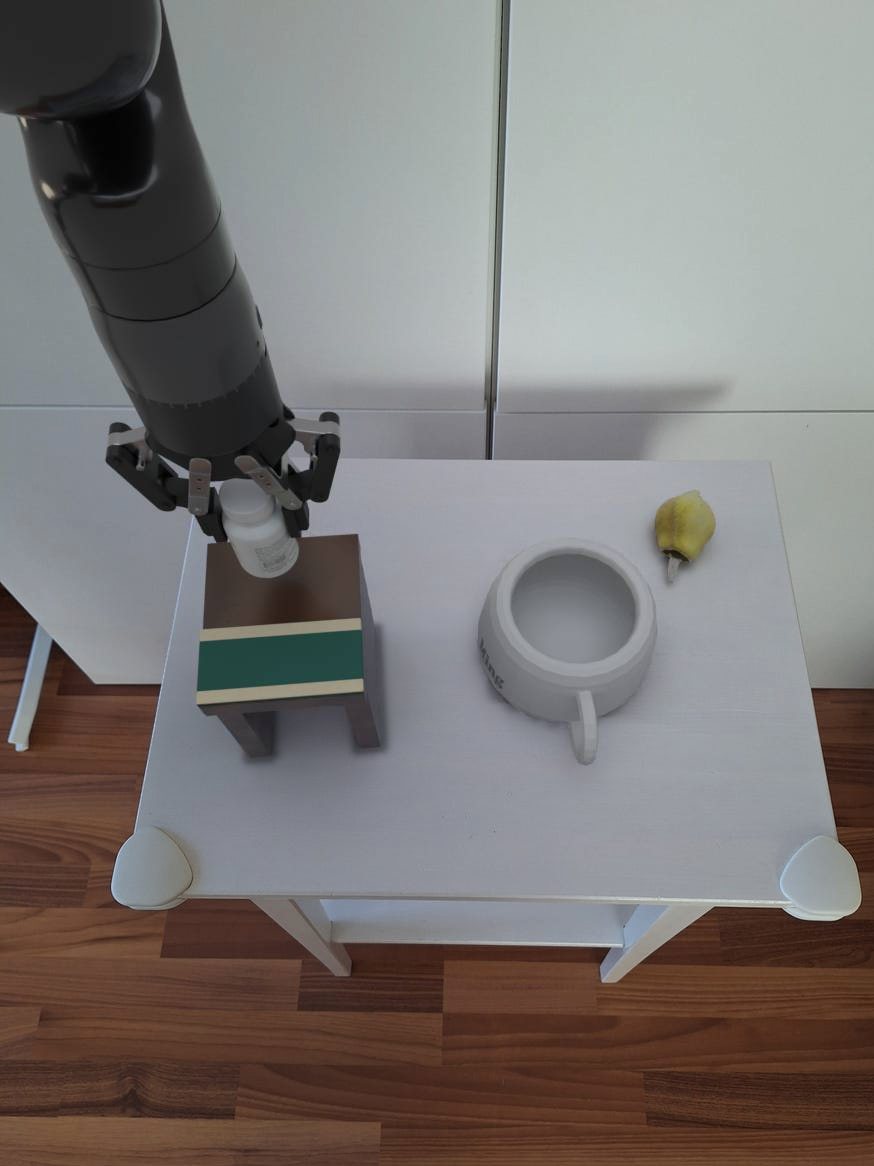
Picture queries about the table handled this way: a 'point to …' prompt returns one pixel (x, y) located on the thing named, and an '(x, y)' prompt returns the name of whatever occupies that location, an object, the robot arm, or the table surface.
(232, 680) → the towel
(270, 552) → the pill bottle
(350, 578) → the stool
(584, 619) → the mug
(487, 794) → the table surface
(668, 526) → the fruit
